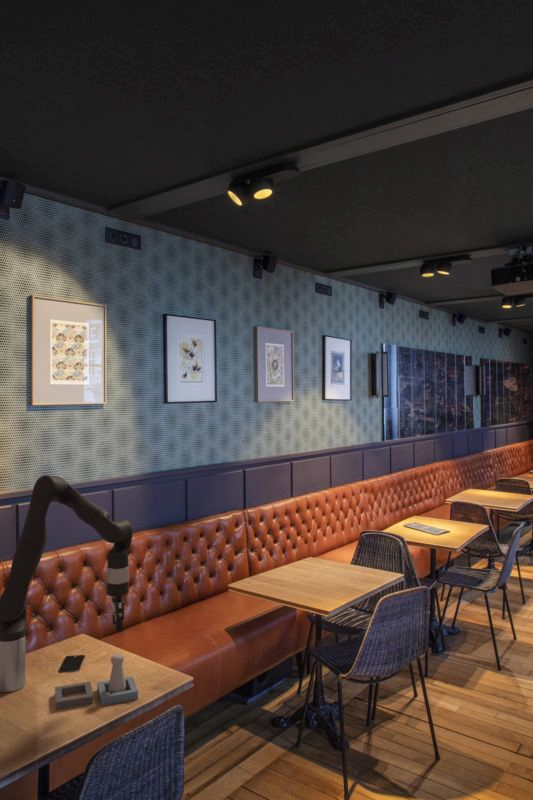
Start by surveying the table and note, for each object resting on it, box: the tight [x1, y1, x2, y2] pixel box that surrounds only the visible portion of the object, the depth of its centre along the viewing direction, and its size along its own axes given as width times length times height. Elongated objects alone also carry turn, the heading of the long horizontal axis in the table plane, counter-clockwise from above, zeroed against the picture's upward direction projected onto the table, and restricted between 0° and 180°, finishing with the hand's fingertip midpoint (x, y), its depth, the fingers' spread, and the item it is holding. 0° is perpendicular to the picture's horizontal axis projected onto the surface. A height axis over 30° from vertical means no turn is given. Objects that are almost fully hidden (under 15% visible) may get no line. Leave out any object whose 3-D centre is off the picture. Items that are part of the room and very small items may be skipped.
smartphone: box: [57, 654, 86, 674], centre depth 223 cm, size 8×1×15 cm
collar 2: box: [96, 676, 139, 706], centre depth 198 cm, size 12×12×2 cm
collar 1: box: [54, 681, 94, 711], centre depth 195 cm, size 12×12×2 cm
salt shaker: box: [108, 653, 127, 694], centre depth 198 cm, size 6×6×13 cm
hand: (117, 627), depth 198 cm, fingers open, 8 cm apart
